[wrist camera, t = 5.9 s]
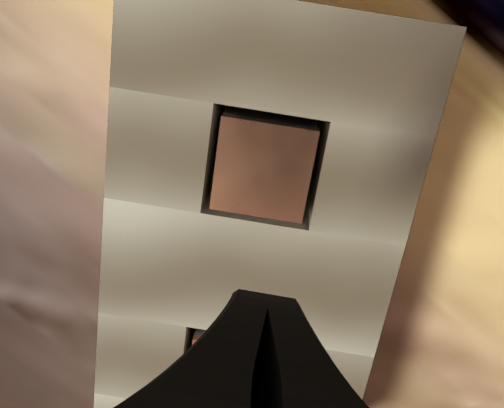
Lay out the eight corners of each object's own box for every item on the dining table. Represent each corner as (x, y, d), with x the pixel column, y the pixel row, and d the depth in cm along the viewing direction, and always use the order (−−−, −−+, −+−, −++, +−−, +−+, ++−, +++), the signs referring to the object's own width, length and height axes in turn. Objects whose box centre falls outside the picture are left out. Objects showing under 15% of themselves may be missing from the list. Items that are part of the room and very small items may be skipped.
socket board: (151, -15, 17) (115, -29, 14) (426, 29, 17) (466, 27, 14) (122, 388, 23) (91, 456, 20) (326, 422, 23) (335, 496, 20)
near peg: (233, 99, 18) (220, 115, 14) (312, 112, 18) (319, 131, 14) (223, 175, 19) (208, 208, 15) (297, 187, 19) (301, 223, 15)
